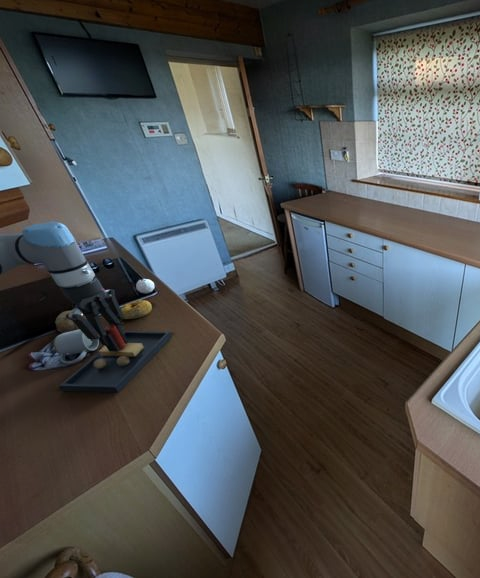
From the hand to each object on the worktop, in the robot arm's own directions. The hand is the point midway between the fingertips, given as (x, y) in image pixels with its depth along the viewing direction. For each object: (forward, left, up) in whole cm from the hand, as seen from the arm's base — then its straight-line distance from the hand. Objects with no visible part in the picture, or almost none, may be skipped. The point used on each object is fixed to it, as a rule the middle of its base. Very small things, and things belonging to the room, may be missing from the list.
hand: (119, 346), depth 90 cm
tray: (0, -1, -5) cm, 5 cm away
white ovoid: (-20, +38, -2) cm, 43 cm away
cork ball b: (+3, -3, -3) cm, 5 cm away
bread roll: (-30, +16, -5) cm, 34 cm away
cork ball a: (-3, -5, -3) cm, 6 cm away
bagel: (-14, +24, -5) cm, 28 cm away
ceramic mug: (-16, +2, -5) cm, 17 cm away
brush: (0, 0, -3) cm, 3 cm away
